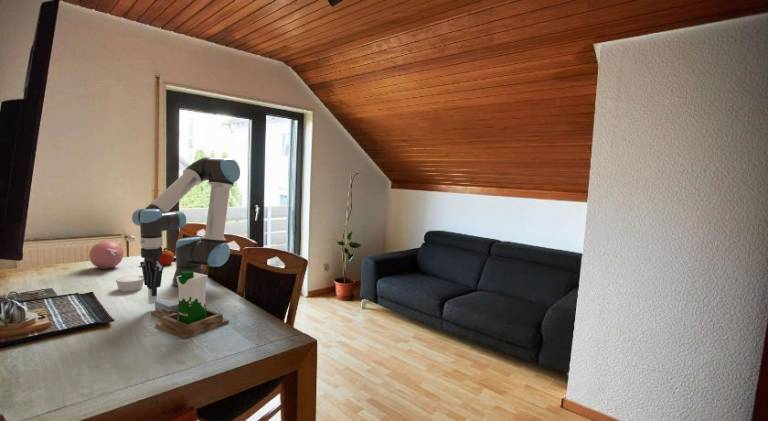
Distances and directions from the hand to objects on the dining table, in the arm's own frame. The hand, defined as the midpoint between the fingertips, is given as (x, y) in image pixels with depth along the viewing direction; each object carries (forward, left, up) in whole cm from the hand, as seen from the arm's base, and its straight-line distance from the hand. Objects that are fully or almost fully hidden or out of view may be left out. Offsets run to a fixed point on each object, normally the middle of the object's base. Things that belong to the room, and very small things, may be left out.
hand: (152, 303), depth 160 cm
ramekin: (-8, -33, -3) cm, 34 cm away
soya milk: (0, +27, -2) cm, 27 cm away
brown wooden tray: (0, +20, -3) cm, 21 cm away
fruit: (-42, -63, -3) cm, 76 cm away
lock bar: (0, +10, -1) cm, 10 cm away
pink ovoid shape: (-18, -76, -3) cm, 78 cm away
